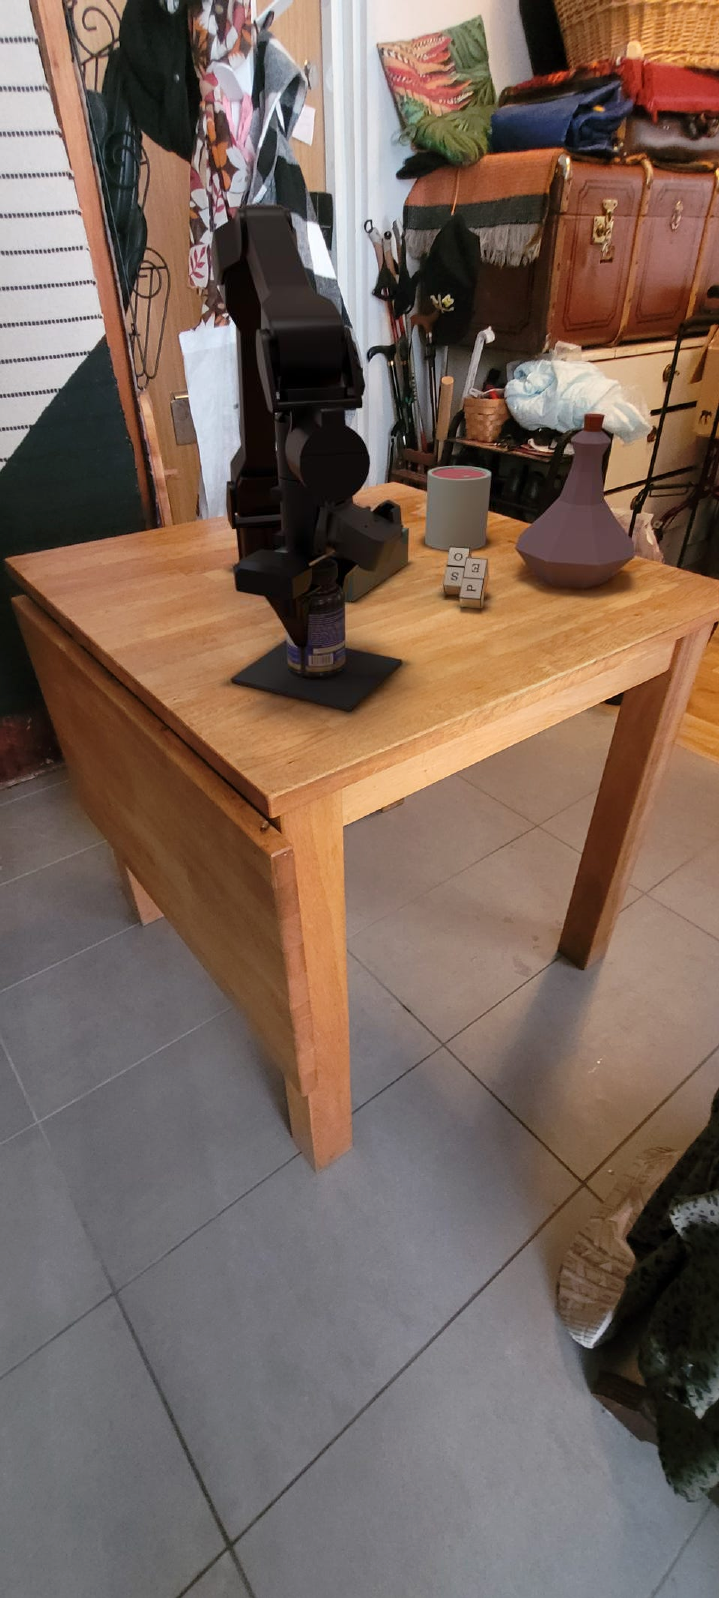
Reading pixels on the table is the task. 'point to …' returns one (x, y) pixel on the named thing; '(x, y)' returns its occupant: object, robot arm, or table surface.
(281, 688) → the mat
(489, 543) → the table surface
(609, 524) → the flask
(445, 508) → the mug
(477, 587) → the building blocks
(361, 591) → the teal open box
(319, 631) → the pill bottle
